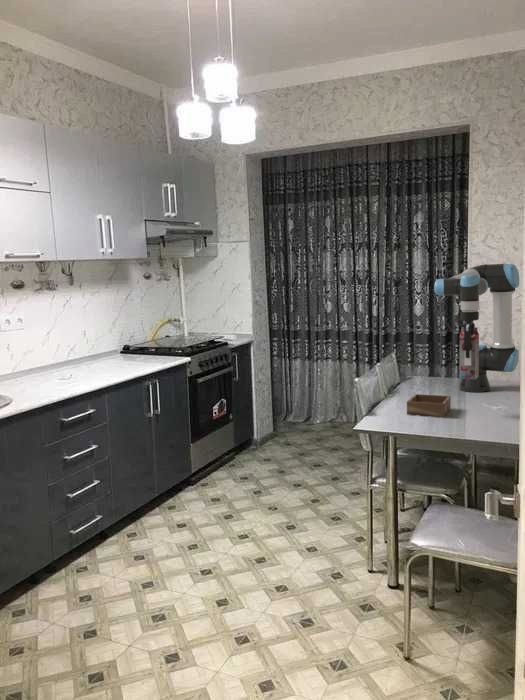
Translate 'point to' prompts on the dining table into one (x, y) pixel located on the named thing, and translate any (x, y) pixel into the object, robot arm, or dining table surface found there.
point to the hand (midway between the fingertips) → (469, 363)
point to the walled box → (429, 405)
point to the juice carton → (472, 370)
